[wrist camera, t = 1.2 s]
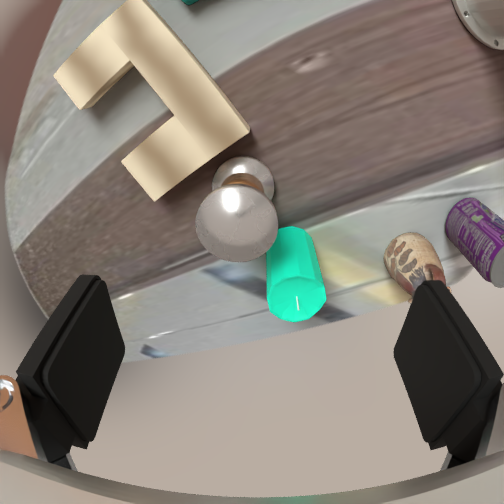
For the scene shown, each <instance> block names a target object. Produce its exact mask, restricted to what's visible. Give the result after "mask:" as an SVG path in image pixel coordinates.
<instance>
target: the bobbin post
mask: <svg viewBox="0 0 504 504" xmlns="http://www.w3.org/2000/svg"><path fill="white" fill-rule="evenodd" d="M273 194H274V179H273V176H272V173H271V171H270V170H269V168H268V167H267V166H266V165H265V164H264V163H263V162H262V161H260V160H258V159H257V158H254V157H250V156H236V157H232V158H230V159H228V160H226V161H225V162H224V163H222V164H221V165H220V166H219V168H218V169H217V171H216V173H215V175H214V178H213V182H212V192H211V193H209V194H208V195H207V196H206V197H205V199H204V200H203V202H202V203H201V205H200V208H199V210H198V212H197V215H196V232H197V235H198V238H199V240H200V241H201V243H202V245H203V246H204V247H205V248H206V249H207V250H208V251H209V252H210V253H211V254H213V255H215V256H216V257H218V258H220V259H223V260H226V261H231V262H246V261H250V260H253V259H256V258H258V257H260V256H261V255H263V254H264V253H266V252H267V251H268V250H269V249H270V247H271V246H272V245H273V243H274V241H275V239H276V237H277V233H278V217H277V212H276V209H275V207H274V205H273V203H272V201H271V199H272V197H273Z"/></svg>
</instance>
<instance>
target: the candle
mask: <svg viewBox="0 0 504 504" xmlns="http://www.w3.org/2000/svg"><path fill="white" fill-rule="evenodd" d="M266 266H267V301H268V305H269V309H270V312H271V313H273V314H274V315H275V316H277V317H278V318H280V319H282V320H287V321H291V322H298V321H303V320H307V319H310V318H311V317H312V316H313V315H314V314H315V313H316V312H318V311H319V310H320V309H321V307H322V306H323V304H324V303H325V302H326V293H325V287H324V283H323V279H322V275H321V271H320V267H319V263H318V260H317V256H316V252H315V248H314V245H313V241H312V238H311V237H310V236H309V234H308V233H307V232H306V231H305V230H304V229H300V228H297V227H293V226H290V227H285V228H280V229H278V233H277V237H276V239H275V241H274V243H273V245H272V246H271V247H270V249H269V250H268V251H267V252H266Z"/></svg>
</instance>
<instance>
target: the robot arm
mask: <svg viewBox="0 0 504 504" xmlns="http://www.w3.org/2000/svg"><path fill="white" fill-rule="evenodd" d="M452 2H453V4H454V7H455V10H456V12H457V14H458V16H459V18H460V19H461V21H462V22H463V24H464V25H465V27H466V28H467V29H468V30H469V32H470V33H471V34H472V35H473V36H474V37H475V38H476V39H477V40H479V41H480V42H481V43H483V44H484V45H486V46H488V47H490V48H493V49H497V50H504V0H452ZM124 354H125V345H124V342H123V339H122V336H121V332H120V329H119V326H118V323H117V320H116V317H115V313H114V310H113V307H112V303H111V300H110V296H109V293H108V289H107V285H106V283H105V281H103V280H101V278H100V277H99V276H98V275H80V276H79V277H78V278H77V280H76V281H75V282H74V284H73V285H72V287H71V288H70V289H69V291H68V292H67V293H66V295H65V296H64V298H63V299H62V301H61V302H60V303H59V305H58V306H57V308H56V309H55V311H54V312H53V314H52V315H51V317H50V318H49V320H48V321H47V323H46V324H45V326H44V328H43V329H42V330H41V332H40V333H39V335H38V336H37V338H36V340H35V341H34V343H33V344H32V346H31V348H30V349H29V351H28V353H27V354H26V356H25V357H24V359H23V361H22V362H21V364H20V366H19V368H18V370H17V371H16V373H17V374H18V377H17V378H16V380H14V379H13V378H12V377H10V376H7V375H0V504H504V383H503V384H502V383H501V381H500V380H501V378H502V377H503V375H504V374H503V372H502V371H501V369H500V367H499V365H498V364H497V362H496V360H495V359H494V357H493V355H492V354H491V352H490V351H489V349H488V347H487V346H486V344H485V342H484V341H483V339H482V338H481V336H480V335H479V333H478V332H477V330H476V328H475V327H474V325H473V324H472V323H471V321H470V319H469V318H468V317H467V315H466V314H465V312H464V311H463V309H462V308H461V306H460V305H459V304H458V302H457V301H456V299H455V298H454V297H453V295H452V294H451V292H450V291H449V290H448V288H447V287H446V285H445V284H444V283H443V282H442V281H441V280H425V281H423V282H422V283H421V285H419V286H418V287H417V289H416V291H415V294H414V297H413V300H412V303H411V306H410V308H409V311H408V314H407V317H406V319H405V322H404V325H403V327H402V330H401V332H400V335H399V337H398V340H397V343H396V345H395V347H394V358H395V361H396V364H397V366H398V369H399V371H400V374H401V377H402V379H403V382H404V385H405V387H406V390H407V393H408V396H409V398H410V401H411V404H412V407H413V410H414V413H415V415H416V418H417V421H418V424H419V427H420V430H421V433H422V436H423V439H424V441H425V442H428V443H429V446H430V449H431V450H434V449H437V448H441V447H444V446H446V445H447V448H448V453H447V456H446V458H445V461H444V463H443V466H442V468H441V470H440V471H439V472H436V473H432V474H429V475H426V476H422V477H418V478H414V479H410V480H406V481H401V482H398V483H393V484H388V485H383V486H378V487H372V488H366V489H360V490H354V491H347V492H340V493H331V494H322V495H311V496H298V497H297V496H296V497H271V498H270V497H269V498H248V497H222V496H208V495H196V494H186V493H178V492H170V491H164V490H157V489H151V488H145V487H140V486H135V485H130V484H125V483H121V482H116V481H112V480H108V479H104V478H99V477H96V476H92V475H88V474H84V473H81V472H78V471H77V469H76V467H75V464H74V462H73V460H72V458H71V455H70V453H69V452H70V449H71V446H72V445H73V446H76V447H80V448H83V449H87V447H88V443H89V441H90V442H91V441H93V440H94V438H95V436H96V433H97V430H98V427H99V424H100V421H101V418H102V415H103V412H104V409H105V406H106V403H107V400H108V398H109V395H110V392H111V389H112V386H113V384H114V381H115V378H116V376H117V372H118V370H119V368H120V365H121V362H122V360H123V357H124Z"/></svg>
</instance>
